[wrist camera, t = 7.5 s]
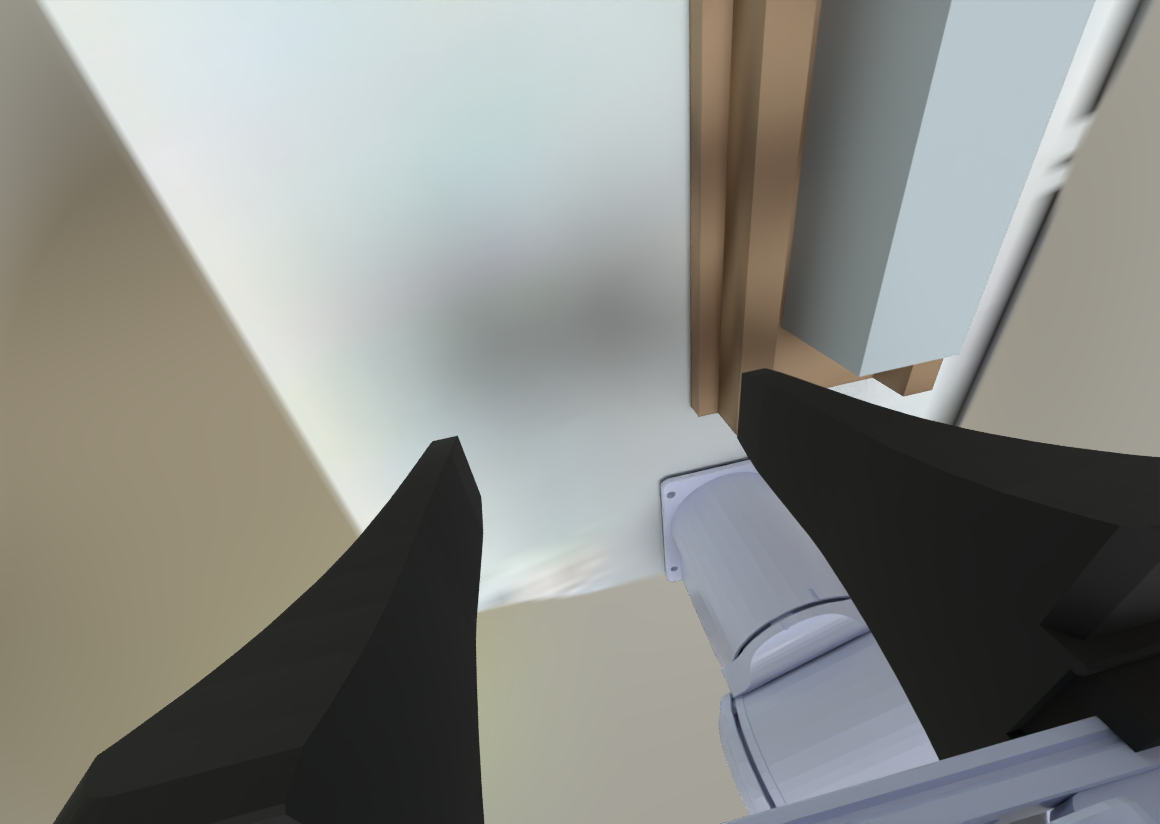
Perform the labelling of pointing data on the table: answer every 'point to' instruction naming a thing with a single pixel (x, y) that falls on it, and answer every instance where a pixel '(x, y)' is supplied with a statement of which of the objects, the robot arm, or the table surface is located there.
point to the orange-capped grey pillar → (917, 167)
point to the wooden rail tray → (753, 200)
